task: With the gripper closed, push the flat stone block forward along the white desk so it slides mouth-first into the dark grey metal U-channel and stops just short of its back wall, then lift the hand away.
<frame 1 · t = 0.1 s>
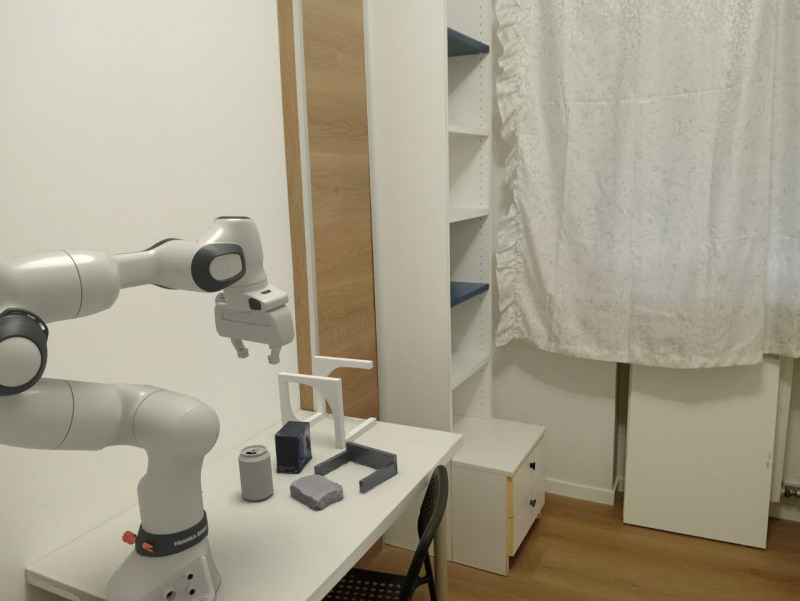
hand: (258, 360, 139), 39 cm above the table, tool pointing down, fingers open, 8 cm apart
adhesive hook: (203, 499, 165), on the table
white open frame: (331, 432, 202), on the table
can: (258, 496, 164), on the table
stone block: (319, 498, 163), on the table
grey u-shaped bracket: (356, 475, 173), on the table
small box: (295, 465, 181), on the table
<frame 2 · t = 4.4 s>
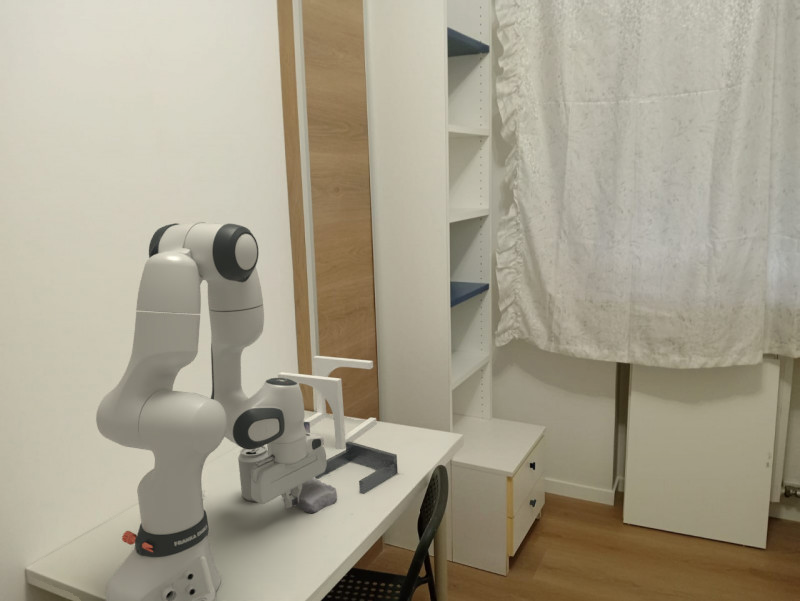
hand: (292, 504, 156), 2 cm above the table, tool pointing down, fingers closed
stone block: (312, 501, 161), on the table, touching gripper
everything else where it was.
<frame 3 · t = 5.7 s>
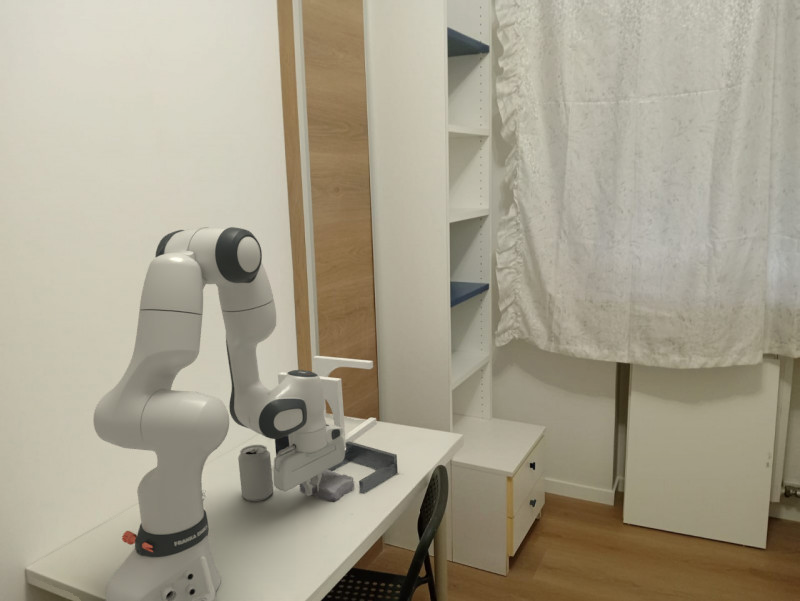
hand: (312, 492, 161), 2 cm above the table, tool pointing down, fingers closed
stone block: (329, 490, 166), on the table, touching gripper
everything else where it was.
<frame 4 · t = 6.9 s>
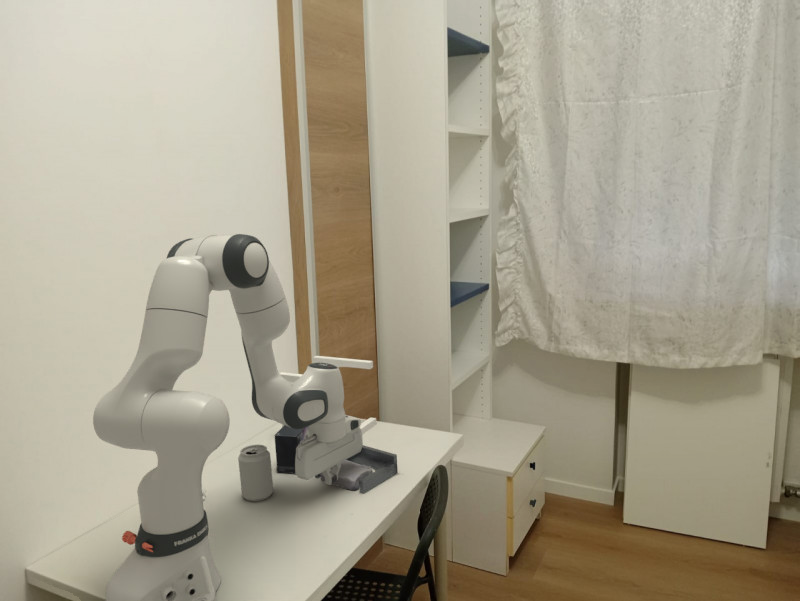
hand: (331, 481, 166), 2 cm above the table, tool pointing down, fingers closed
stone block: (349, 480, 171), on the table, touching gripper
everything else where it was.
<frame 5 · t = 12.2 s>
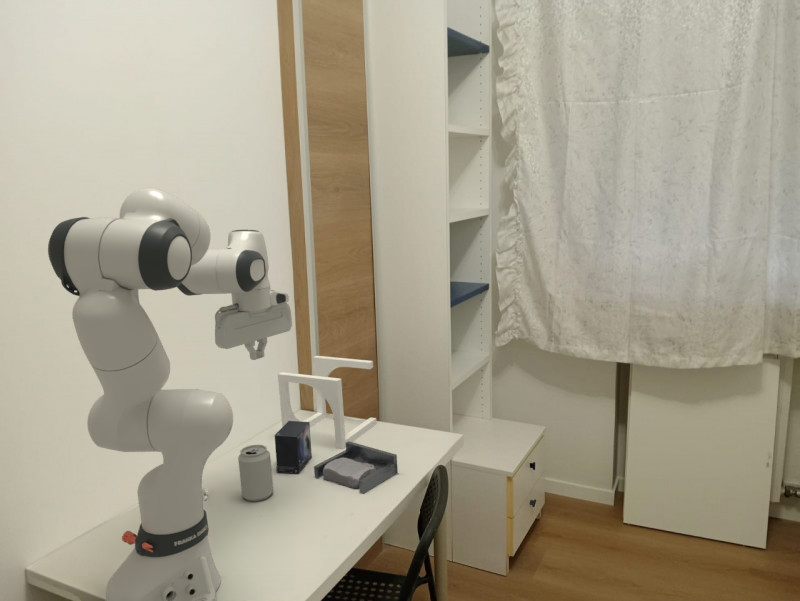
hand: (257, 358, 158), 34 cm above the table, tool pointing down, fingers closed
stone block: (351, 478, 172), on the table
at the end: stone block inside the target area (1.8 cm from its centre), on the table; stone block tilted 0° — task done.
